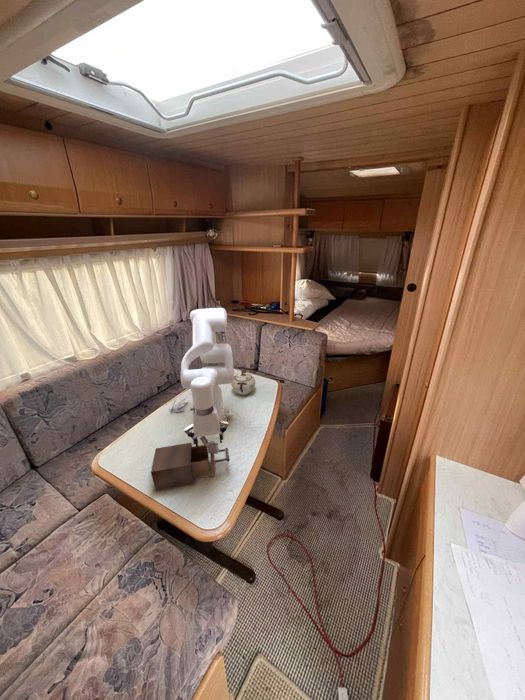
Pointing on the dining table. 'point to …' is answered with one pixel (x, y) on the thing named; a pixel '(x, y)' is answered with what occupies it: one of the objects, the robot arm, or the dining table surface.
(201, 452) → the drawer
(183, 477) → the cabinet
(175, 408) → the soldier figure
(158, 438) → the dining table surface
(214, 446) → the lighter
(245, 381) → the sugar bowl
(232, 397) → the dining table surface
